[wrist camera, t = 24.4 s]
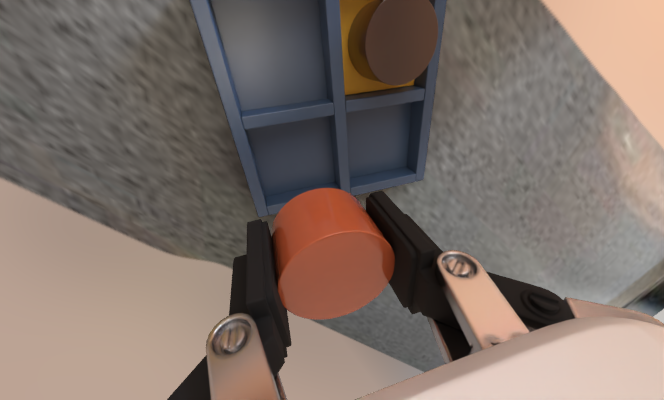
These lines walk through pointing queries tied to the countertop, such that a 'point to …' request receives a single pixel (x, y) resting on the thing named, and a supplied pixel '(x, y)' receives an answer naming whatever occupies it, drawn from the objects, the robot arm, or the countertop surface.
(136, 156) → the countertop surface
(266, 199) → the grid
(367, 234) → the cylinder
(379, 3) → the cylinder
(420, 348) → the countertop surface
